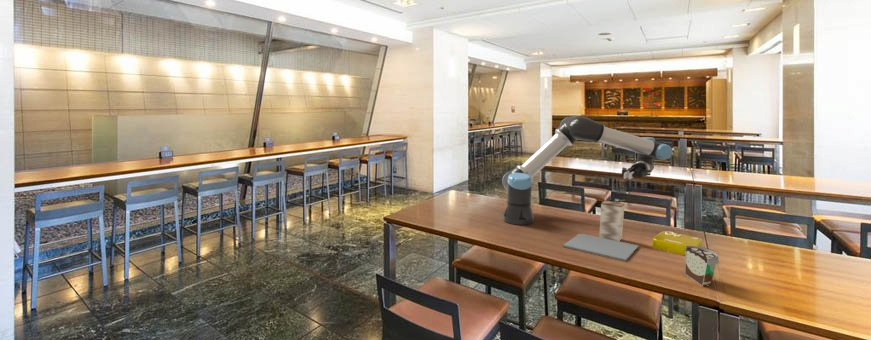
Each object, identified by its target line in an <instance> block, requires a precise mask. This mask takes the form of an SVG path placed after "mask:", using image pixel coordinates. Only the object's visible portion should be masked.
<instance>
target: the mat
mask: <svg viewBox="0 0 871 340" xmlns="http://www.w3.org/2000/svg"><path fill="white" fill-rule="evenodd" d="M562 247H563V248H567V249H571V250H574V251H578V252H579V251H580V252H584V253H587V254H593V255H595V256H596V255H597V256H601V257H605V258H608V257H609V258H608V259H612V260H613V259H614V260H618V261H621V262H625V263H626V262H627V261H628V260H629V259H630V257H631V256H632V255H634V253H635V252H636V251H637V250H638V248H639V244H635V243H634V244H632V243H628V242H624V241H615V240H610V239H605V238H600V237H599V236H594V235H589V234H585V233H581V232H580V233H578V234H577V235H576V236H574V237H572V238H571V239H570V240H568V241H566V243H563V245H562ZM636 249H637V250H636ZM635 250H636V251H635ZM634 251H635V252H634Z"/></svg>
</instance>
